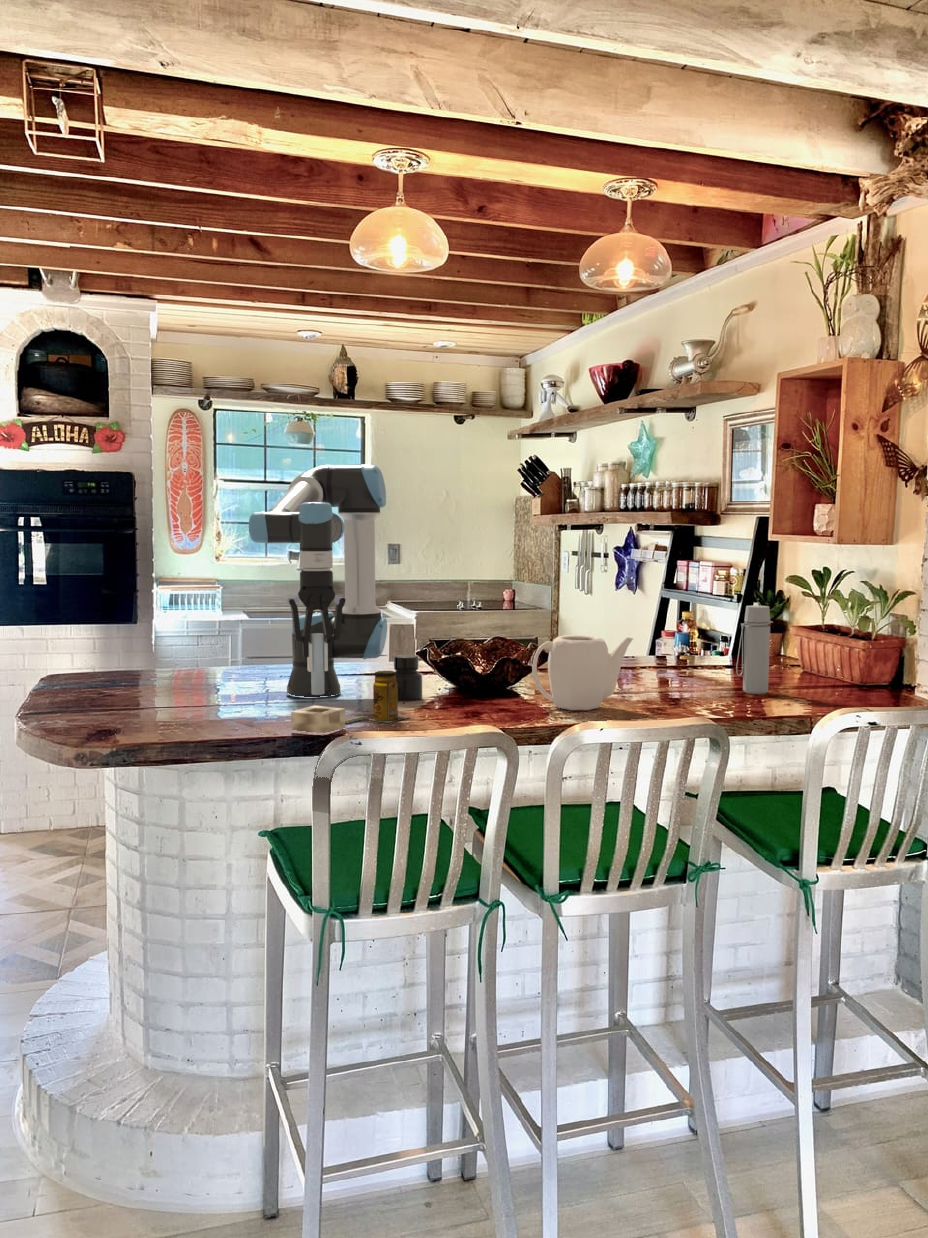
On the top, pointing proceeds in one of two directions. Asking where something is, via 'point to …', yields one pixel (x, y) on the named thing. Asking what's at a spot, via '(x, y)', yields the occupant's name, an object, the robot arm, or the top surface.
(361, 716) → the lace
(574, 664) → the watering can
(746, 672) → the water bottle
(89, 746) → the top surface
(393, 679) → the condiment
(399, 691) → the ink bottle
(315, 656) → the white peg
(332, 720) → the tan hollow square block
